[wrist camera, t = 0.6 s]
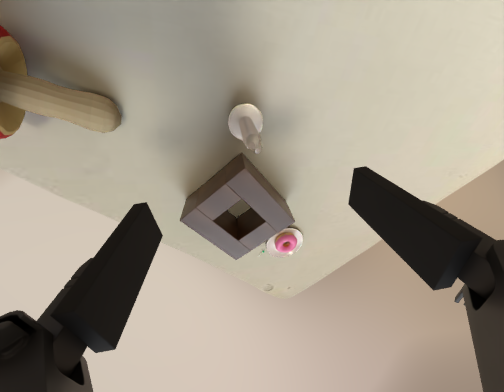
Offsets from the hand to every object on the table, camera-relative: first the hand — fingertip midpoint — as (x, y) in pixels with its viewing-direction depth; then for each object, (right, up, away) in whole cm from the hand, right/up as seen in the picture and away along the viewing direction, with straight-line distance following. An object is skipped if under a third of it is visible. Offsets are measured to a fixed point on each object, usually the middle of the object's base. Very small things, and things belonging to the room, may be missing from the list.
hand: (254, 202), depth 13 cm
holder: (-3, 0, +23) cm, 23 cm away
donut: (+6, -10, +31) cm, 33 cm away
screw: (-1, +12, +16) cm, 20 cm away
